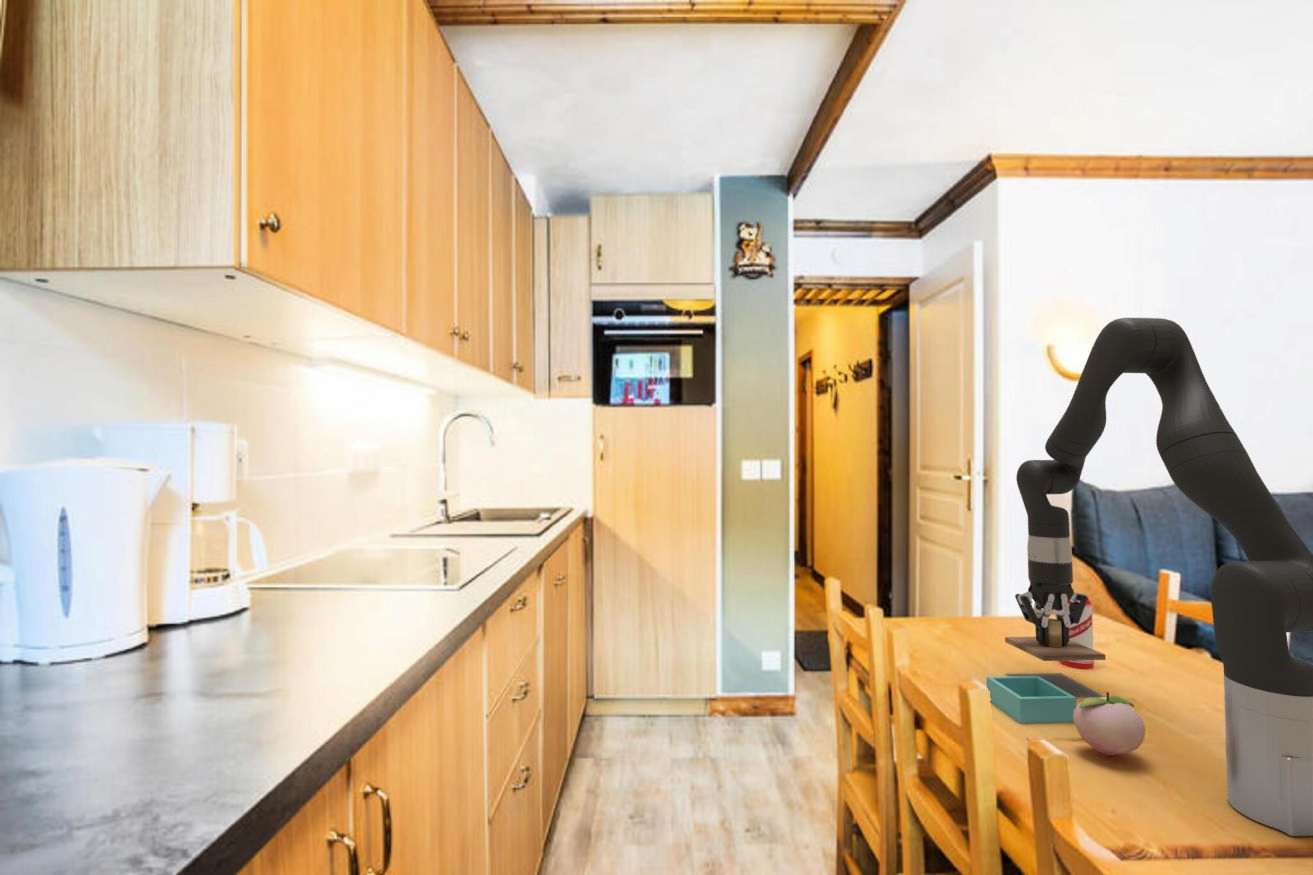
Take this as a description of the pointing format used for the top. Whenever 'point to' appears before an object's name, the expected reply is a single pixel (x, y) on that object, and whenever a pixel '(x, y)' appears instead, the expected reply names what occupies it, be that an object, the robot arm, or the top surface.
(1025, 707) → the teal storage bin
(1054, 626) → the lid
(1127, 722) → the decorative fruit
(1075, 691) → the mat
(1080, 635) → the beer can
